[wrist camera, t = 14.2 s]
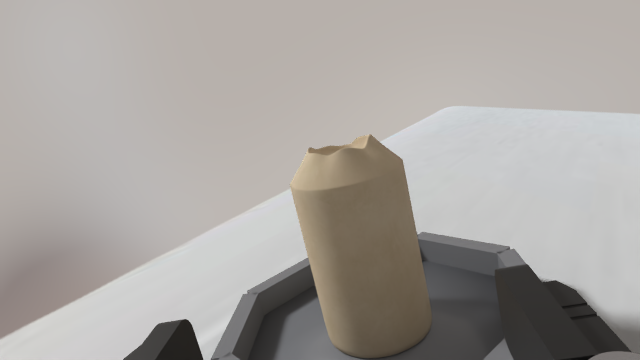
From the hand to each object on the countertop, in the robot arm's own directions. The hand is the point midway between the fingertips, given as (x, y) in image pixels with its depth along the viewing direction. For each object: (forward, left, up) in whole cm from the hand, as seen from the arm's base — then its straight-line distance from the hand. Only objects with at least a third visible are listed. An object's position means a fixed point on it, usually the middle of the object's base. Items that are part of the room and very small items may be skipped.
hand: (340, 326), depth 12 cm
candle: (0, +11, -7) cm, 13 cm away
